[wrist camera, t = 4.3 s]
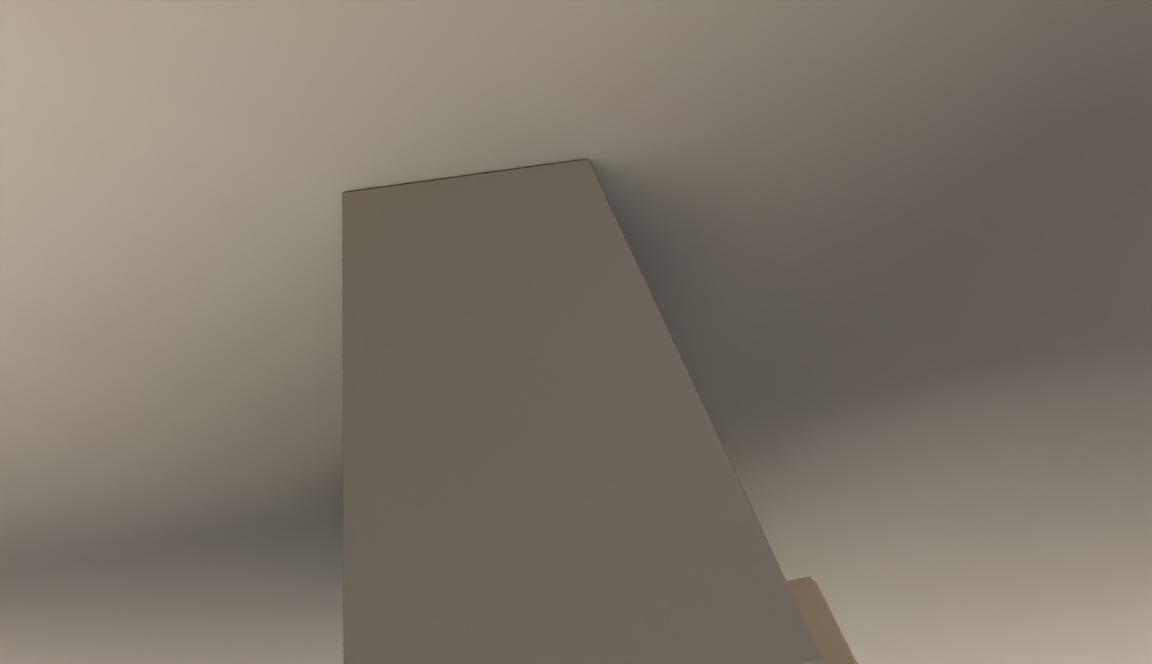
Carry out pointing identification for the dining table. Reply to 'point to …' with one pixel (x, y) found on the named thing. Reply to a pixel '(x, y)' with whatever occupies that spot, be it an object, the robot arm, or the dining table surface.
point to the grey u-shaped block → (533, 445)
